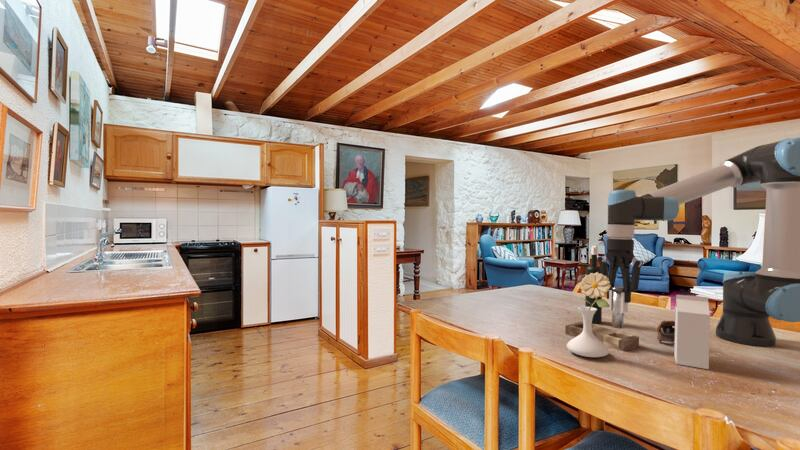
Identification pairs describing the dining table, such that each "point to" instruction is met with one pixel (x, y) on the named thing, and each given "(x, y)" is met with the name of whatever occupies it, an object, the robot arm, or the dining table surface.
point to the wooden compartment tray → (606, 336)
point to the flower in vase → (591, 317)
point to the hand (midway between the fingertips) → (618, 310)
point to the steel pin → (617, 308)
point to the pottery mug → (666, 331)
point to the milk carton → (692, 331)
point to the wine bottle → (598, 314)
